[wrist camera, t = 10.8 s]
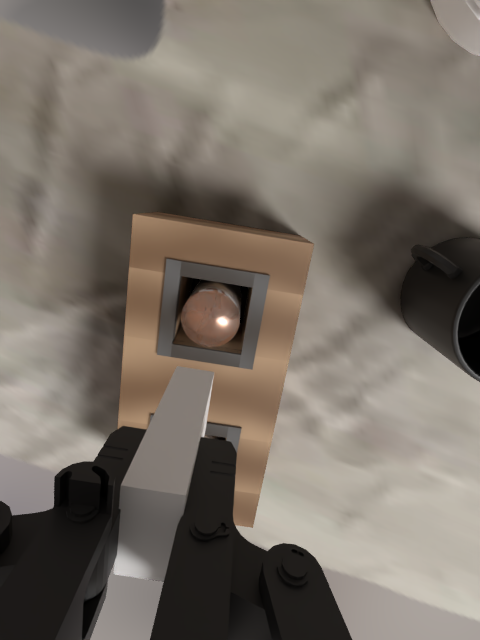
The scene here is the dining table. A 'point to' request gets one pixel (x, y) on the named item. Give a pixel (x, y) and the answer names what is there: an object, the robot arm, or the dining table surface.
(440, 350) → the mug
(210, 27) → the dining table surface
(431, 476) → the dining table surface
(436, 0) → the honey pot
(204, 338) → the peg
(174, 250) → the socket block
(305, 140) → the dining table surface
